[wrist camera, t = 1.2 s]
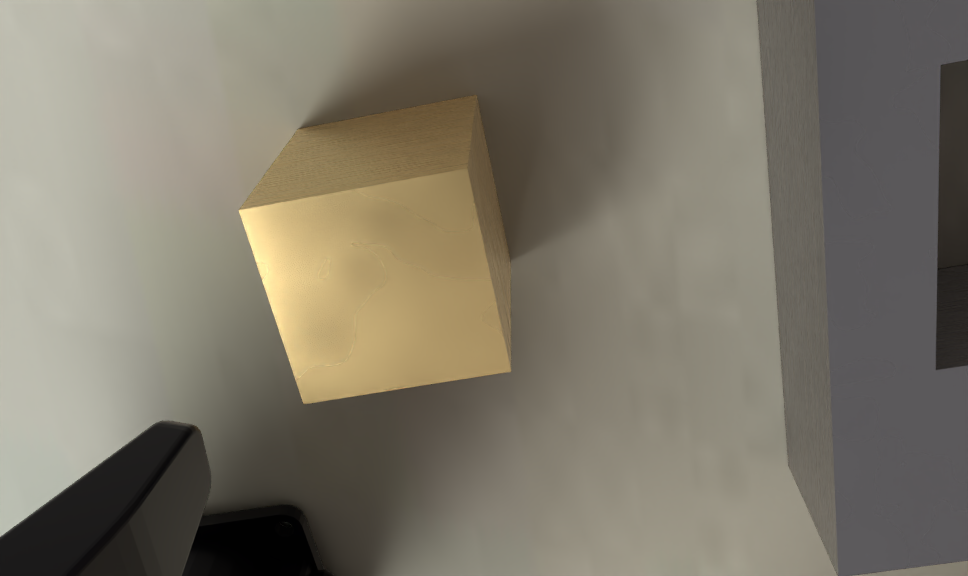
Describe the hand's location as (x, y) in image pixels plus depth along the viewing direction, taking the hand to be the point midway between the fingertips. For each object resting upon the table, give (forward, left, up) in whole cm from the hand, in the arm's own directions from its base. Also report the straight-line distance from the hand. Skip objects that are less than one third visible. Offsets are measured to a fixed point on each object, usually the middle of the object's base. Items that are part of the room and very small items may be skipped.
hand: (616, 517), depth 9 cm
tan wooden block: (-3, 0, -12) cm, 13 cm away
